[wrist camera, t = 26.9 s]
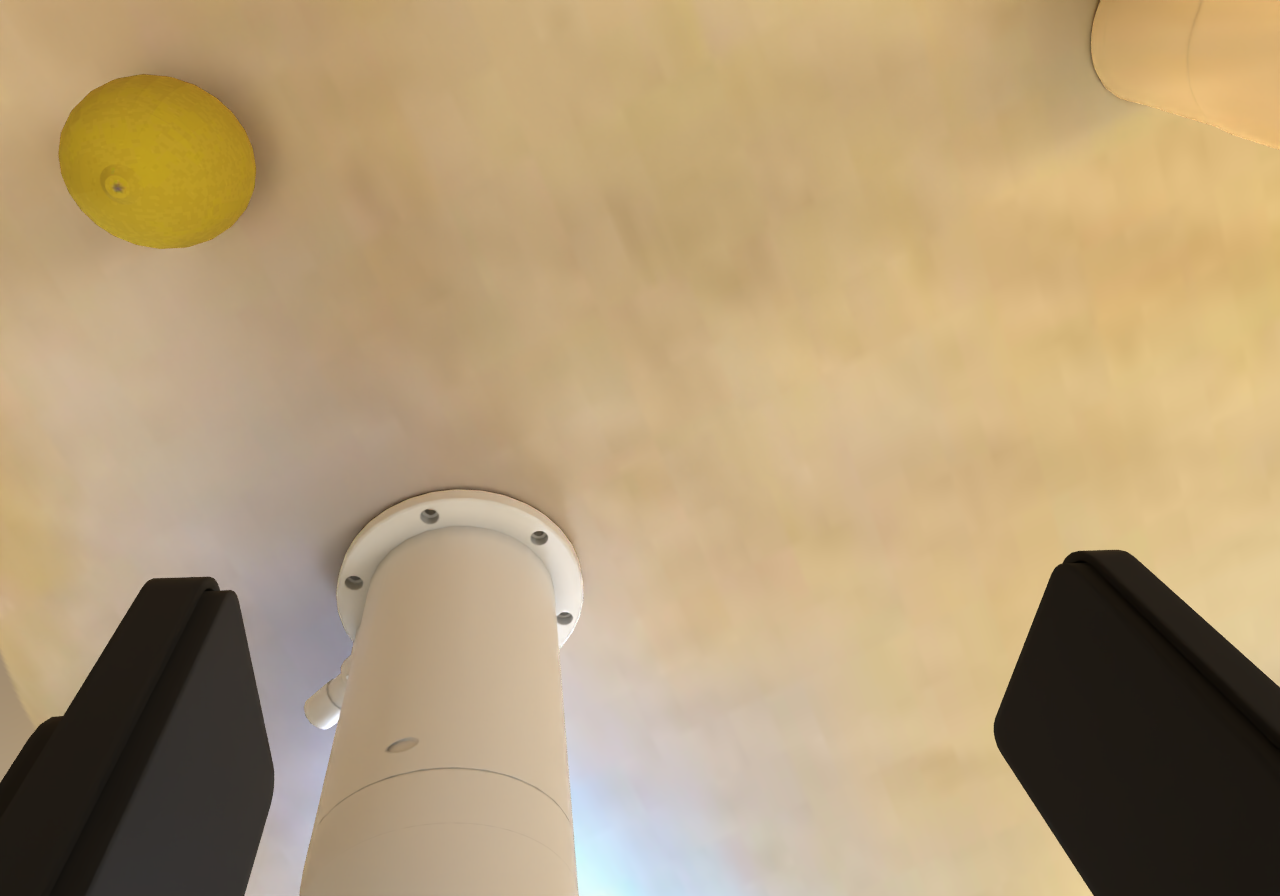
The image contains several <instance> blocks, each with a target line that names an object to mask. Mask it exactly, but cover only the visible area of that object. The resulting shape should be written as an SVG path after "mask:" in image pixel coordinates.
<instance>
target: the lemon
mask: <svg viewBox="0 0 1280 896" xmlns="http://www.w3.org/2000/svg"><path fill="white" fill-rule="evenodd" d="M59 161H60V168H61V174H62V177H63V179H64V182H65V184H66V186H67V189H68V191H69V193H70V195H71V196H72V198H73V199H74V200H75V202H76V203H77V205H78V206H79V207H80V209H81V210H82V211H83V212H84V213H85V214H86V215H87V216H88V217H89V218H90V219H91V220H92V221H93V222H94V223H95V224H96V225H98V226H99V227H101V228H103V229H104V230H106V231H107V232H109V233H110V234H112V235H113V236H116V237H118V238H121V239H123V240H126V241H128V242H131V243H133V244H136V245H141V246H146V247H152V248H158V249H166V248H184V247H190V246H193V245H196V244H199V243H202V242H206V241H209V240H211V239H213V238H215V237H216V236H218V235H219V234H221V233H222V232H224V231H225V230H227V229H228V228H230V227H231V226H232V225H233V224H234V223H235V222H236V221H237V220H238V218H239V217H240V216H241V215H242V213H243V212H244V211H245V210H246V208H247V206H248V204H249V201H250V198H251V196H252V193H253V191H254V187H255V176H256V165H255V159H254V153H253V148H252V146H251V143H250V141H249V139H248V136H247V134H246V132H245V130H244V128H243V127H242V126H241V124H240V123H239V121H238V120H237V119H236V117H235V116H234V114H233V113H232V112H231V111H230V110H229V109H228V108H227V107H226V106H224V105H223V104H222V103H221V102H220V101H219V100H218V99H217V98H216V97H214V96H212V95H211V94H209V93H207V92H206V91H204V90H202V89H201V88H199V87H197V86H196V85H193V84H190V83H187V82H184V81H181V80H178V79H176V78H172V77H167V76H157V75H146V74H142V75H136V76H130V77H124V78H118V79H115V80H112V81H110V82H108V83H106V84H104V85H102V86H100V87H98V88H96V89H94V90H93V91H91V92H90V93H89V94H88V95H87V96H86V97H85V98H84V99H83V100H82V101H81V102H80V103H79V104H78V105H77V106H76V107H75V108H74V109H73V110H72V111H71V113H70V115H69V117H68V119H67V121H66V123H65V126H64V128H63V130H62V132H61V137H60V145H59Z"/></svg>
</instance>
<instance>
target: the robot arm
mask: <svg viewBox="0 0 1280 896" xmlns="http://www.w3.org/2000/svg"><path fill="white" fill-rule="evenodd" d="M429 509H432V510H429ZM336 597H337V607H338V613H339V616H340V618H341V621H342V624H343V627H344V629H345V631H346V632H347V634H348V635H349V637H350V638H351V640H352V641H353V643H354V644H353V648H352V652H351V656H349V657H348V658H347V659H346V660H345V661H344V662H343V664H342V666H341V674H339V675H338V676H337V677H336V678H335V679H332V680H330V681H329V682H328V683H327V684H325V685H324V686H323V687H322V688H321V689H320V690H318V691H317V692H316V693H315V694H314V695H312V696H311V697H310V698H309V699H308V700H307V701H306V702H305V706H304V710H305V715H306V717H307V718H308V720H309V721H310V723H311V724H313V725H314V726H316V727H317V728H320V729H328V728H330V727H332V726H333V725H335V724H336V723H337V722H338V724H337V728H336V733H335V737H334V741H333V746H332V750H331V754H330V758H329V763H328V767H327V771H326V776H325V780H324V784H323V789H322V793H321V797H320V802H319V806H318V810H317V815H316V819H315V823H314V828H313V832H312V836H311V841H310V844H309V848H308V852H307V857H306V861H305V866H304V870H303V875H302V881H301V886H300V896H579V894H578V883H577V870H576V858H575V846H574V831H573V819H572V806H571V794H570V781H569V769H568V756H567V744H566V731H565V718H564V706H563V693H562V681H561V668H560V656H559V649H560V648H561V647H562V646H563V645H564V643H565V642H566V640H567V639H568V638H569V636H570V635H571V634H572V632H573V630H574V628H575V626H576V624H577V621H578V619H579V617H580V614H581V608H582V603H583V598H584V597H583V579H582V573H581V567H580V562H579V560H578V557H577V555H576V553H575V550H574V548H573V545H572V544H571V543H570V541H569V540H568V538H567V537H566V536H565V534H564V533H563V531H562V530H561V529H560V528H559V527H558V526H557V525H556V524H555V523H553V522H552V521H551V520H550V519H549V518H548V517H547V516H546V515H544V514H543V513H541V512H539V511H538V510H536V509H534V508H533V507H531V506H529V505H528V504H526V503H523V502H521V501H518V500H516V499H513V498H510V497H508V496H505V495H501V494H496V493H491V492H486V491H482V490H460V489H455V490H446V491H437V492H431V493H427V494H424V495H420V496H416V497H413V498H409V499H407V500H405V501H403V502H401V503H399V504H396V505H394V506H392V507H390V508H388V509H386V510H385V511H384V512H382V513H381V514H380V515H378V516H377V517H375V518H374V519H373V520H371V521H370V522H369V523H368V524H367V525H366V526H365V527H364V528H363V529H362V530H361V532H360V533H359V534H358V535H357V536H356V537H355V538H354V540H353V542H352V544H351V545H350V547H349V549H348V551H347V552H346V554H345V557H344V560H343V563H342V566H341V569H340V572H339V577H338V583H337V590H336ZM994 736H995V740H996V743H997V746H998V748H999V750H1000V752H1001V754H1002V755H1003V757H1004V758H1005V760H1006V762H1007V763H1008V765H1009V766H1010V768H1011V769H1012V771H1013V772H1014V774H1015V775H1016V777H1017V778H1018V780H1019V782H1020V783H1021V785H1022V786H1023V788H1024V789H1025V791H1026V792H1027V794H1028V795H1029V797H1030V798H1031V800H1032V802H1033V803H1034V805H1035V806H1036V808H1037V809H1038V811H1039V812H1040V814H1041V815H1042V817H1043V818H1044V820H1045V821H1046V823H1047V825H1048V826H1049V828H1050V829H1051V831H1052V832H1053V834H1054V835H1055V837H1056V838H1057V840H1058V841H1059V843H1060V845H1061V846H1062V848H1063V849H1064V851H1065V852H1066V854H1067V855H1068V857H1069V858H1070V860H1071V861H1072V863H1073V865H1074V866H1075V868H1076V869H1077V871H1078V872H1079V874H1080V875H1081V877H1082V878H1083V880H1084V881H1085V883H1086V885H1087V886H1088V888H1089V889H1090V891H1091V892H1092V894H1093V895H1094V896H1280V687H1279V686H1278V685H1276V684H1275V683H1274V682H1273V681H1272V680H1271V679H1270V678H1269V677H1268V676H1266V675H1265V674H1264V673H1263V672H1262V671H1261V670H1260V669H1259V668H1257V667H1256V666H1255V665H1254V664H1253V663H1252V662H1251V661H1250V660H1249V659H1247V658H1246V657H1245V656H1244V655H1243V654H1242V653H1241V652H1240V651H1239V650H1237V649H1236V648H1235V647H1234V646H1233V645H1232V644H1231V643H1230V642H1229V641H1227V640H1226V639H1225V638H1224V637H1223V636H1222V635H1221V634H1220V633H1218V632H1217V631H1216V630H1215V629H1214V628H1213V627H1212V626H1211V625H1210V624H1208V623H1207V622H1206V621H1205V620H1204V619H1203V618H1202V617H1201V616H1200V615H1198V614H1197V613H1196V612H1195V611H1194V610H1193V609H1192V608H1191V607H1190V606H1188V605H1187V604H1186V603H1185V602H1184V601H1183V600H1182V599H1181V598H1180V597H1178V596H1177V595H1176V594H1175V593H1174V592H1173V591H1172V590H1171V589H1169V588H1168V587H1167V586H1166V585H1165V584H1164V583H1163V582H1162V581H1161V580H1159V579H1158V578H1157V577H1156V576H1155V575H1154V574H1153V573H1152V572H1151V571H1149V570H1148V569H1147V568H1146V567H1145V566H1144V565H1143V564H1142V563H1141V562H1139V561H1138V560H1137V559H1136V558H1135V557H1134V556H1132V555H1131V554H1129V553H1128V552H1126V551H1121V550H1097V551H1077V552H1073V553H1071V554H1070V555H1068V556H1067V557H1066V558H1065V560H1064V562H1063V563H1062V564H1060V565H1058V566H1057V567H1056V568H1055V569H1054V571H1053V572H1052V574H1051V577H1050V579H1049V582H1048V584H1047V587H1046V590H1045V592H1044V595H1043V597H1042V600H1041V602H1040V605H1039V608H1038V610H1037V613H1036V615H1035V618H1034V620H1033V623H1032V625H1031V628H1030V631H1029V633H1028V636H1027V638H1026V641H1025V643H1024V646H1023V649H1022V651H1021V654H1020V656H1019V659H1018V661H1017V664H1016V667H1015V669H1014V672H1013V674H1012V677H1011V679H1010V682H1009V684H1008V687H1007V690H1006V692H1005V695H1004V697H1003V700H1002V702H1001V705H1000V708H999V710H998V713H997V715H996V718H995V722H994ZM273 789H274V768H273V762H272V757H271V752H270V748H269V743H268V738H267V733H266V729H265V724H264V719H263V714H262V710H261V705H260V700H259V695H258V691H257V686H256V681H255V676H254V672H253V667H252V662H251V657H250V653H249V648H248V643H247V638H246V634H245V629H244V624H243V619H242V615H241V610H240V605H239V601H238V598H237V595H236V593H235V592H234V591H232V590H226V591H220V589H219V586H218V583H217V582H216V581H215V579H214V578H211V577H187V578H153V579H151V580H149V581H147V582H146V584H145V585H144V586H143V587H142V589H141V590H140V592H139V594H138V595H137V597H136V598H135V600H134V602H133V603H132V605H131V607H130V608H129V610H128V611H127V613H126V615H125V616H124V618H123V620H122V621H121V623H120V625H119V626H118V628H117V629H116V631H115V633H114V634H113V636H112V638H111V639H110V641H109V642H108V644H107V646H106V647H105V649H104V651H103V652H102V654H101V656H100V657H99V659H98V660H97V662H96V664H95V665H94V667H93V669H92V670H91V672H90V673H89V675H88V677H87V678H86V680H85V682H84V683H83V685H82V686H81V688H80V690H79V691H78V693H77V695H76V696H75V698H74V700H73V701H72V703H71V704H70V706H69V708H68V709H67V711H66V713H65V714H64V716H59V717H51V718H50V719H48V720H47V721H45V722H44V723H42V724H40V725H39V727H38V728H37V729H36V730H35V732H34V733H33V734H32V735H31V737H30V738H29V739H28V741H27V742H26V744H25V745H24V747H23V749H22V750H21V751H20V753H19V755H18V756H17V758H16V759H15V761H14V762H13V764H12V765H11V767H10V769H9V770H8V772H7V774H6V775H5V776H4V778H3V780H2V781H1V783H0V896H244V894H245V891H246V888H247V884H248V881H249V877H250V874H251V870H252V867H253V864H254V860H255V857H256V853H257V850H258V846H259V843H260V839H261V836H262V833H263V829H264V826H265V822H266V819H267V815H268V812H269V809H270V805H271V801H272V796H273Z"/></svg>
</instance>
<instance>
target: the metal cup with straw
mask: <svg viewBox="0 0 1280 896" xmlns="http://www.w3.org/2000/svg"><path fill="white" fill-rule="evenodd" d="M1091 54H1092V60H1093V64H1094V68H1095V70H1096V73H1097V75H1098V77H1099V79H1100V81H1101V82H1102V83H1103V85H1104V86H1105V87H1106V88H1107V89H1108V90H1109V91H1110V92H1111V93H1112V94H1114V95H1115V96H1117V97H1119V98H1121V99H1123V100H1126V101H1129V102H1135V103H1140V104H1143V105H1146V106H1149V107H1152V108H1156V109H1159V110H1162V111H1166V112H1169V113H1172V114H1175V115H1179V116H1182V117H1185V118H1189V119H1192V120H1195V121H1199V122H1202V123H1205V124H1208V125H1211V126H1215V127H1218V128H1219V129H1221V130H1223V131H1225V132H1227V133H1229V134H1231V135H1234V136H1237V137H1241V138H1244V139H1247V140H1250V141H1253V142H1256V143H1259V144H1262V145H1265V146H1269V147H1272V148H1275V149H1278V150H1280V0H1100V2H1099V5H1098V8H1097V11H1096V14H1095V17H1094V22H1093V27H1092V34H1091Z"/></svg>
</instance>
